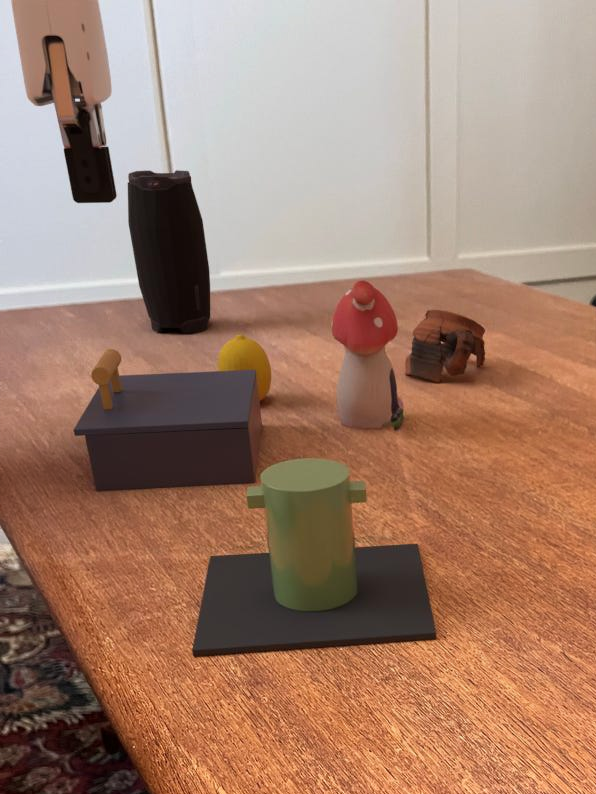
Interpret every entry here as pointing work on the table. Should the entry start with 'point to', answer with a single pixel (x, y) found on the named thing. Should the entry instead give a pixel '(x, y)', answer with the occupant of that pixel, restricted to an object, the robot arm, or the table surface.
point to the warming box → (177, 456)
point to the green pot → (310, 531)
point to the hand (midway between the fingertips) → (95, 200)
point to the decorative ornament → (366, 359)
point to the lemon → (246, 361)
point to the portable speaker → (169, 250)
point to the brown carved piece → (444, 345)
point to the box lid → (165, 400)
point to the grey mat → (291, 629)
